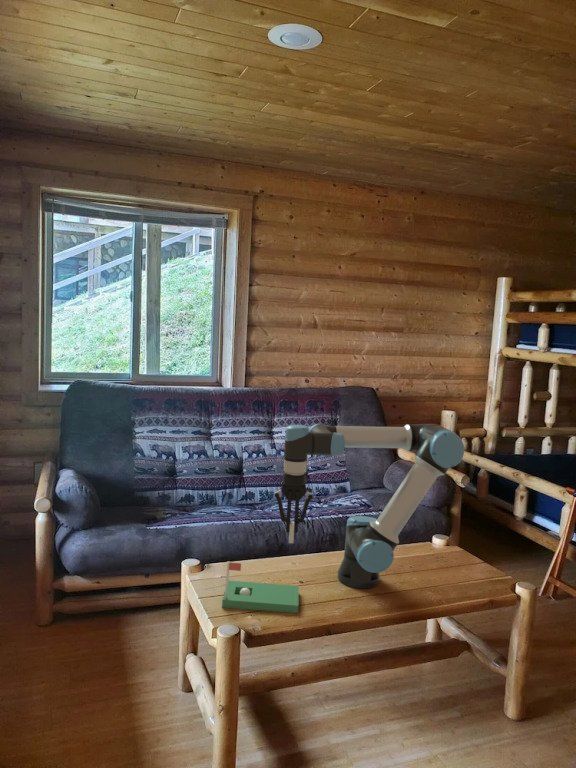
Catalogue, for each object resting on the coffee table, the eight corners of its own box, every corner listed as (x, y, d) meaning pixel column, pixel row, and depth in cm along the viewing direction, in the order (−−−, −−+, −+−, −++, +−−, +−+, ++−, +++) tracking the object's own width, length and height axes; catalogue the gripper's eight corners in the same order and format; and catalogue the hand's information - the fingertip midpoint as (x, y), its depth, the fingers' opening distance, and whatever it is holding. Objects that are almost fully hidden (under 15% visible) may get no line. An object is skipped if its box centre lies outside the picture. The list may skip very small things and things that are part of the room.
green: (297, 593, 199) (298, 585, 199) (297, 613, 185) (298, 605, 185) (227, 587, 199) (227, 580, 199) (221, 607, 185) (222, 599, 185)
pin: (238, 598, 186) (241, 562, 185) (238, 600, 186) (240, 563, 184) (224, 597, 187) (227, 561, 185) (224, 598, 186) (226, 562, 185)
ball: (252, 593, 194) (248, 584, 193) (251, 598, 190) (247, 589, 190) (242, 597, 194) (238, 588, 194) (241, 603, 190) (237, 593, 190)
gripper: (314, 470, 197) (310, 538, 199) (275, 468, 197) (271, 536, 199) (315, 476, 189) (311, 547, 192) (274, 474, 189) (271, 545, 192)
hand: (291, 541), depth 195 cm, fingers closed
